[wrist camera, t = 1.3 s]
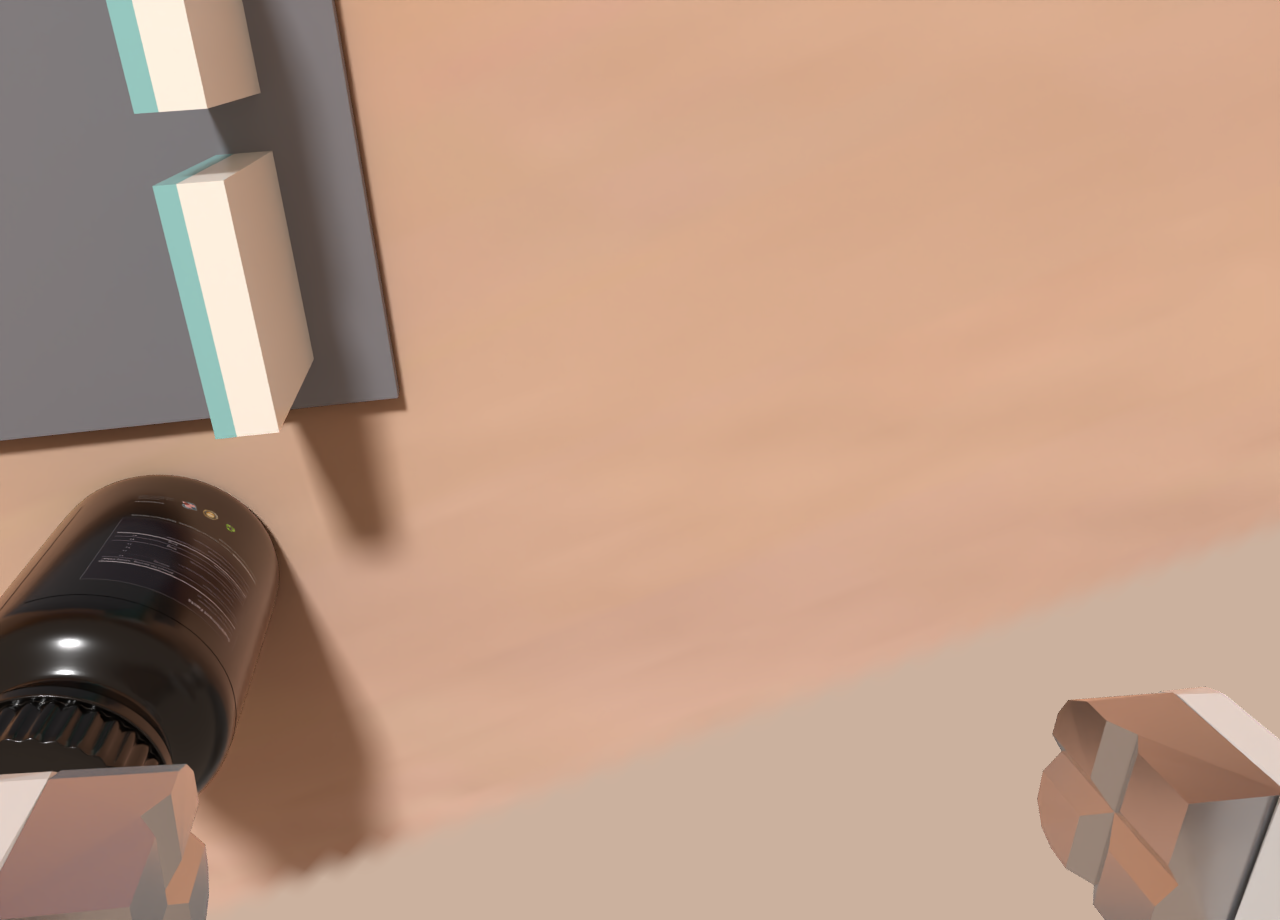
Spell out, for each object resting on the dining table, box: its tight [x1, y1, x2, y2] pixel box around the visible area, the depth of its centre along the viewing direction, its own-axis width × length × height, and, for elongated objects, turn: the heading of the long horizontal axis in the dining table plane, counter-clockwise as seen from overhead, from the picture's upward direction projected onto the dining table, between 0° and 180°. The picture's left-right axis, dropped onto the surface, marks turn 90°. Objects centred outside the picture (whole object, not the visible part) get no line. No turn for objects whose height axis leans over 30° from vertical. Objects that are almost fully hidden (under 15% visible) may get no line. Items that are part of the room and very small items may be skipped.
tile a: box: [152, 151, 314, 439], centre depth 26 cm, size 2×6×6 cm, turn 4°
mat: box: [0, 0, 399, 441], centre depth 27 cm, size 16×16×1 cm
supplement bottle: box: [0, 475, 279, 794], centre depth 27 cm, size 7×7×12 cm
